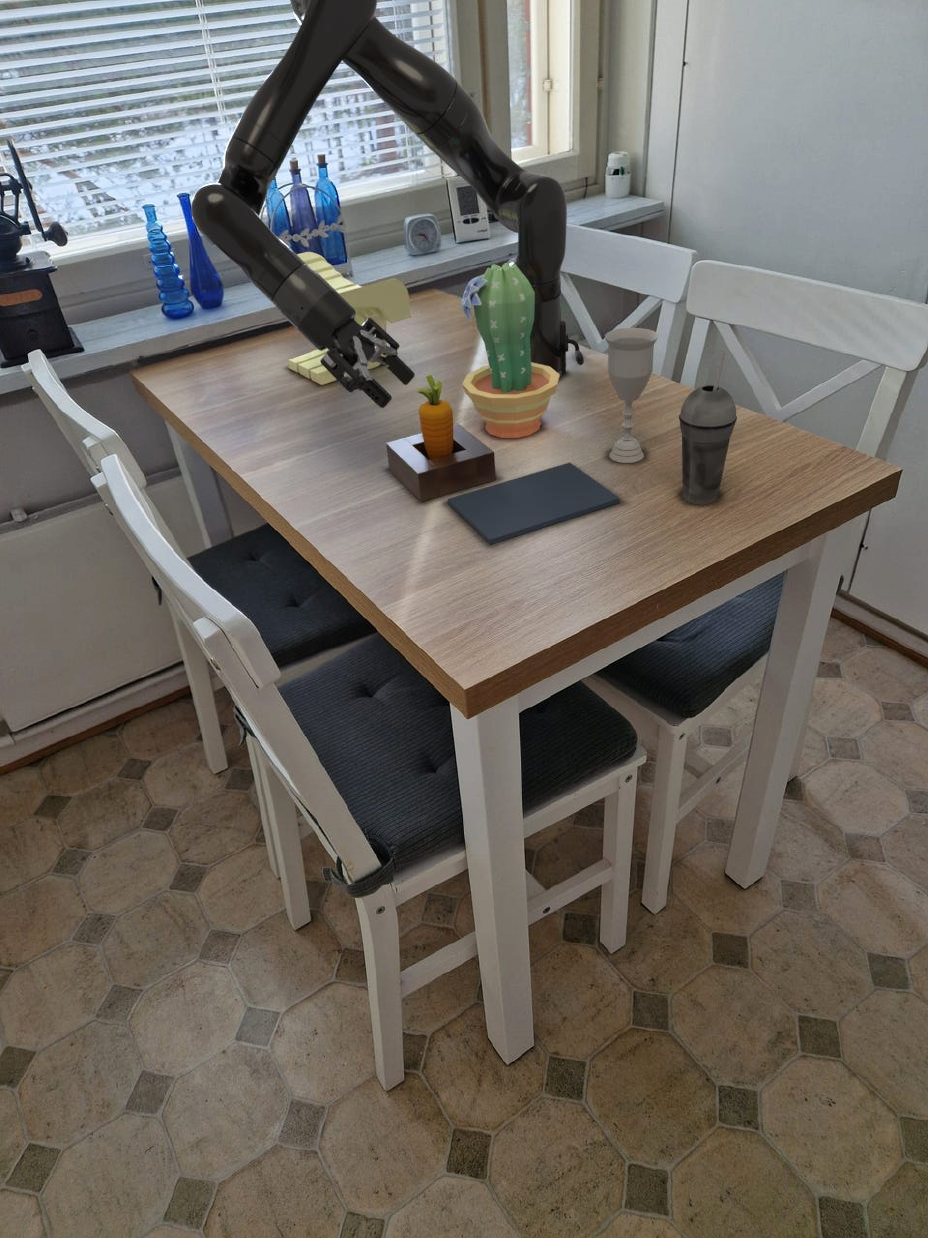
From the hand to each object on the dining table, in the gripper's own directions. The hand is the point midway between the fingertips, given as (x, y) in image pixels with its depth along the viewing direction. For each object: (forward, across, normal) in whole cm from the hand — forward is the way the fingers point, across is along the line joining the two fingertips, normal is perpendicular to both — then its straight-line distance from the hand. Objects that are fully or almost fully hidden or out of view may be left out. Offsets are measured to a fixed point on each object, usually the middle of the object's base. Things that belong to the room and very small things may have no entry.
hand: (399, 391), depth 125 cm
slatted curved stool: (-13, +40, +31) cm, 52 cm away
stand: (+13, 0, +5) cm, 14 cm away
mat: (+24, -6, -6) cm, 25 cm away
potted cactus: (+17, +18, +1) cm, 25 cm away
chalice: (+31, +11, -13) cm, 35 cm away
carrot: (+13, 0, +5) cm, 14 cm away
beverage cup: (+39, +1, -21) cm, 45 cm away
